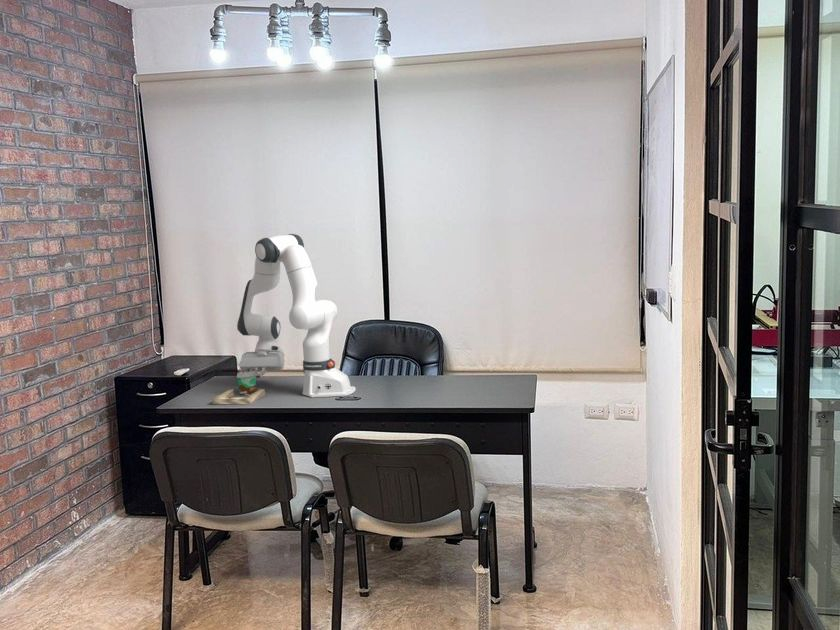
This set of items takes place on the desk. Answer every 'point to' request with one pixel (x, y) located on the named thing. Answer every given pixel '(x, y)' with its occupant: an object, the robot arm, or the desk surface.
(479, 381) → the desk surface
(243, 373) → the food container
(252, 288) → the robot arm
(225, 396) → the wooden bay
